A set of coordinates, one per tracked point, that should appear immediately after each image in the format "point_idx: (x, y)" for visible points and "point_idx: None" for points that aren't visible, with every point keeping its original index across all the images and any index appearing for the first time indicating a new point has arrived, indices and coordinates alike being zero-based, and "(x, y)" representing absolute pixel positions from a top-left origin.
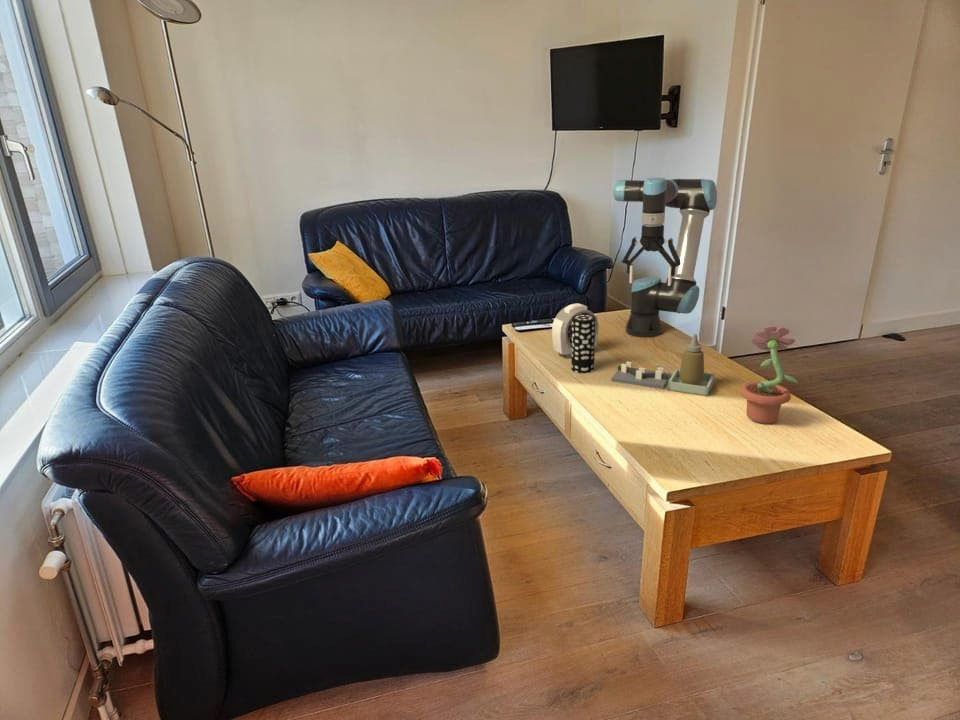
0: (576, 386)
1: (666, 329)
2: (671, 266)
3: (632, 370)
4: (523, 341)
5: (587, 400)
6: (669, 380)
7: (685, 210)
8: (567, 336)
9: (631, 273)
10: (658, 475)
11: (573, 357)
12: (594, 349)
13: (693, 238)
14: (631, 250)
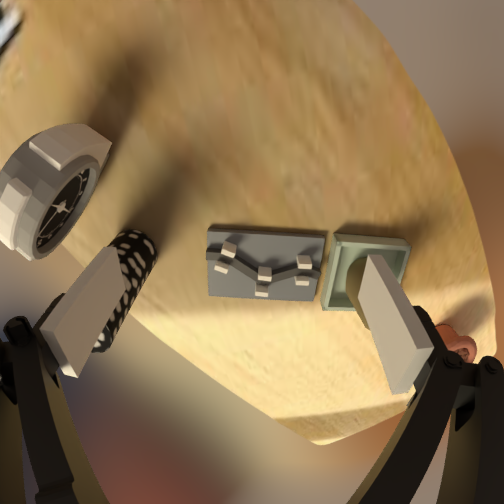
0: (162, 324)
1: None
2: (414, 399)
3: (242, 271)
4: None
5: (200, 360)
6: (325, 303)
7: None
8: (58, 242)
9: (98, 334)
10: (313, 439)
11: None
12: (139, 272)
13: None
14: (21, 480)
